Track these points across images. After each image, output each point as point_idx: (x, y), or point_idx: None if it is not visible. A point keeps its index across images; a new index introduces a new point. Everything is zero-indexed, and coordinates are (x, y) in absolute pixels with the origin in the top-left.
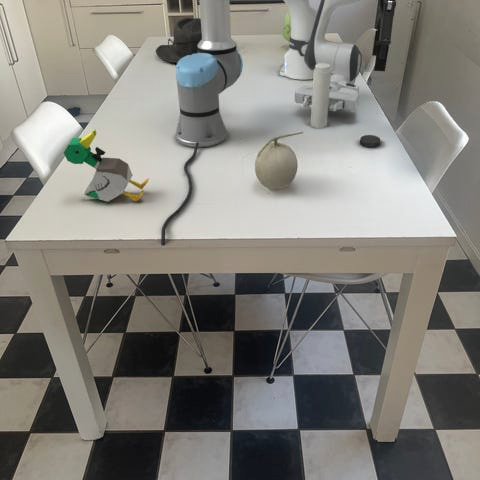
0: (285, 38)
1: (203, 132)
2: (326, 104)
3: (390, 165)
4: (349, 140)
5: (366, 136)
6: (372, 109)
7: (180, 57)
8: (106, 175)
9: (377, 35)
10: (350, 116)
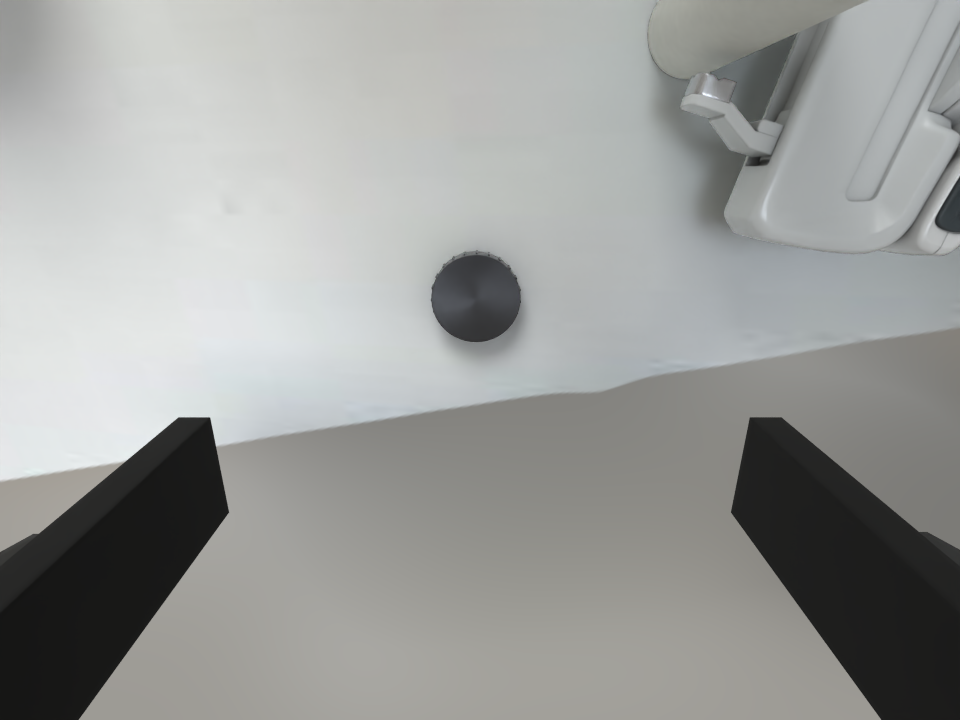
0: None
1: None
2: (713, 37)
3: (290, 365)
4: (504, 204)
5: (500, 283)
6: (881, 319)
7: None
8: None
9: (916, 619)
10: None
